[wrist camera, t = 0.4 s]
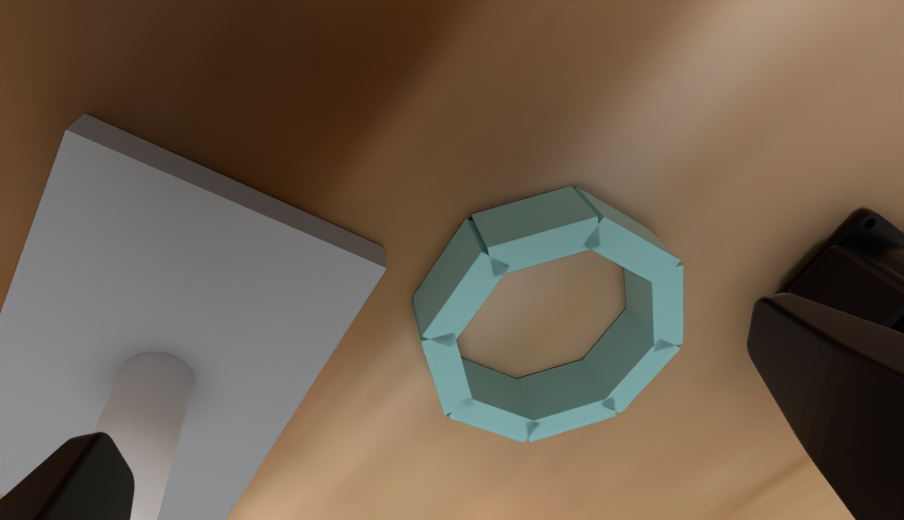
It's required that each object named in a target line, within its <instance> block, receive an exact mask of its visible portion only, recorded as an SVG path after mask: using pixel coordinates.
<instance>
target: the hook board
mask: <svg viewBox="0 0 904 520" xmlns="http://www.w3.org/2000/svg"><path fill="white" fill-rule="evenodd" d="M386 269H387V266H386V260H385V255H384V249H383V247H382V246H380V245H378V244H376V243H373V242H371V241H369V240H367V239H364V238H362V237H360V236H358V235H355V234H353V233H351V232H349V231H347V230H344V229H342V228H340V227H338V226H335V225H333V224H331V223H329V222H326V221H324V220H322V219H320V218H318V217H315V216H313V215H311V214H309V213H306V212H304V211H302V210H300V209H297V208H295V207H293V206H291V205H288V204H286V203H284V202H282V201H280V200H277V199H275V198H273V197H271V196H268V195H266V194H264V193H262V192H259V191H257V190H255V189H253V188H251V187H248V186H246V185H244V184H242V183H239V182H237V181H235V180H233V179H230V178H228V177H226V176H224V175H221V174H219V173H217V172H215V171H213V170H210V169H208V168H206V167H204V166H201V165H199V164H197V163H195V162H192V161H190V160H188V159H186V158H184V157H181V156H179V155H177V154H175V153H172V152H170V151H168V150H166V149H163V148H161V147H159V146H157V145H154V144H152V143H150V142H148V141H146V140H143V139H141V138H139V137H137V136H134V135H132V134H130V133H128V132H125V131H123V130H121V129H119V128H117V127H114V126H112V125H110V124H108V123H105V122H103V121H101V120H99V119H96V118H94V117H92V116H90V115H87V114H85V113H84V114H83V115H82V116H81V117H80V118H79V119H77V120H76V121H75V122H74V123H73V124H72V125H71V126H69V127H68V128H67V129H66V131H65V133H64V136H63V139H62V142H61V145H60V147H59V150H58V153H57V156H56V159H55V162H54V164H53V167H52V170H51V173H50V176H49V178H48V181H47V184H46V187H45V190H44V192H43V195H42V198H41V201H40V204H39V206H38V209H37V212H36V215H35V218H34V221H33V223H32V226H31V229H30V232H29V235H28V237H27V240H26V243H25V246H24V249H23V251H22V254H21V257H20V260H19V263H18V266H17V268H16V271H15V274H14V277H13V280H12V282H11V285H10V288H9V291H8V294H7V296H6V299H5V302H4V305H3V308H2V310H1V313H0V495H6V494H7V493H8V492H9V491H10V490H11V489H13V488H14V487H15V486H16V485H17V484H18V483H19V482H21V481H22V480H23V479H24V478H25V477H26V476H27V475H28V474H30V473H31V472H32V471H33V470H34V469H35V468H36V467H38V466H39V465H40V464H41V463H42V462H43V461H44V460H45V459H47V458H48V457H49V456H50V455H51V454H52V453H53V452H54V451H56V450H57V449H58V448H59V447H60V446H61V445H62V444H64V443H65V442H66V441H67V440H69V439H70V438H73V437H76V436H80V435H85V434H90V433H95V432H105V433H107V434H108V435H110V437H111V438H112V439H113V441H114V443H115V444H116V446H117V447H118V449H119V451H120V452H121V454H122V456H123V457H124V459H125V460H126V462H127V464H128V465H129V467H130V469H131V471H132V473H133V476H134V481H135V490H134V498H133V505H132V512H131V519H130V520H226V518H227V517H228V515H229V514H230V512H231V511H232V509H233V507H234V506H235V504H236V503H237V501H238V500H239V498H240V497H241V495H242V493H243V492H244V490H245V489H246V487H247V486H248V484H249V482H250V481H251V479H252V478H253V476H254V475H255V473H256V472H257V470H258V468H259V467H260V465H261V464H262V462H263V461H264V459H265V458H266V456H267V454H268V453H269V451H270V450H271V448H272V447H273V445H274V443H275V442H276V440H277V439H278V437H279V436H280V434H281V433H282V431H283V429H284V428H285V426H286V425H287V423H288V422H289V420H290V419H291V417H292V415H293V414H294V412H295V411H296V409H297V408H298V406H299V405H300V403H301V401H302V400H303V398H304V397H305V395H306V394H307V392H308V390H309V389H310V387H311V386H312V384H313V383H314V381H315V380H316V378H317V376H318V375H319V373H320V372H321V370H322V369H323V367H324V366H325V364H326V362H327V361H328V359H329V358H330V356H331V355H332V353H333V352H334V350H335V348H336V347H337V345H338V344H339V342H340V341H341V339H342V337H343V336H344V334H345V333H346V331H347V330H348V328H349V327H350V325H351V323H352V322H353V320H354V319H355V317H356V316H357V314H358V313H359V311H360V309H361V308H362V306H363V305H364V303H365V302H366V300H367V299H368V297H369V295H370V294H371V292H372V291H373V289H374V288H375V286H376V284H377V283H378V281H379V280H380V278H381V277H382V275H383V274H384V272H385V270H386Z"/></svg>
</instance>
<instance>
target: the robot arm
mask: <svg viewBox="0 0 904 520" xmlns="http://www.w3.org/2000/svg"><path fill="white" fill-rule="evenodd" d="M747 348H748V353H749V356H750V358H751V360H752V362H753V364H754V365H755V367H756V369H757V370H758V372H759V374H760V375H761V377H762V379H763V381H764V382H765V384H766V386H767V387H768V389H769V391H770V392H771V394H772V396H773V398H774V399H775V401H776V403H777V404H778V406H779V408H780V409H781V411H782V413H783V415H784V416H785V418H786V420H787V421H788V423H789V425H790V426H791V428H792V430H793V432H794V433H795V435H796V437H797V438H798V440H799V441H800V443H801V444H802V446H803V448H804V449H805V451H806V452H807V454H808V455H809V456H810V458H811V459H812V461H813V462H814V464H815V465H816V466H817V468H818V469H819V470H820V472H821V473H822V475H823V476H824V477H825V479H826V480H827V481H828V483H829V484H830V485H831V487H832V488H833V489H834V491H835V492H836V494H837V495H838V496H839V498H840V499H841V500H842V502H843V503H844V504H845V506H846V507H847V509H848V510H849V511H850V513H851V514H852V515H853V517H854V518H855V519H856V520H904V233H902V232H901V231H900V230H898V229H897V228H896V227H895V226H893V225H892V224H891V223H890V222H888V221H887V220H886V219H884V218H883V217H882V216H881V215H879V214H878V213H876V212H874V211H872V210H870V209H864V210H862V211H860V212H859V213H858V214H856V215H855V216H854V217H853V218H852V219H851V220H850V221H849V223H848V224H847V225H846V226H845V227H844V228H843V229H842V230H841V231H840V232H839V233H838V234H837V235H836V236H835V237H834V238H833V239H832V240H831V241H830V242H829V243H828V244H827V245H826V246H825V247H824V248H823V250H822V251H821V252H820V253H819V254H818V255H817V256H816V257H815V258H814V259H813V260H812V261H811V262H810V263H809V264H808V265H807V266H806V267H805V268H804V269H803V270H802V271H801V272H800V273H799V274H798V275H797V276H796V278H795V279H794V280H793V281H792V282H791V283H790V284H789V285H788V286H787V287H786V288H785V289H784V290H783V291H782V292H781V293H779V294H774V295H769V296H764V297H761V298H759V299H757V301H756V302H755V304H754V307H753V312H752V317H751V323H750V329H749V334H748V340H747ZM134 490H135V481H134V476H133V473H132V471H131V469H130V467H129V465H128V464H127V462H126V460H125V459H124V457H123V456H122V454H121V452H120V451H119V449H118V447H117V446H116V444H115V443H114V441H113V439H112V438H111V437H110V435H108V434H107V433H105V432H95V433H90V434H85V435H80V436H76V437H73V438H70V439H69V440H67V441H66V442H65V443H64V444H62V445H61V446H60V447H59V448H58V449H57V450H56V451H54V452H53V453H52V454H51V455H50V456H49V457H48V458H47V459H45V460H44V461H43V462H42V463H41V464H40V465H39V466H38V467H36V468H35V469H34V470H33V471H32V472H31V473H30V474H28V475H27V476H26V477H25V478H24V479H23V480H22V481H21V482H19V483H18V484H17V485H16V486H15V487H14V488H13V489H11V490H10V491H9V492H8V493H7V494H6V495H5V496H4V497H2V498H1V499H0V520H130V519H131V512H132V505H133V498H134Z"/></svg>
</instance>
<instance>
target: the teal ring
mask: <svg viewBox="0 0 904 520" xmlns="http://www.w3.org/2000/svg"><path fill="white" fill-rule="evenodd" d="M471 215H472V219H473V221H471V220H469V219H467V218H466V219H465V220H464V222H463V223H462V225H461V226H460V228H459V229H458V231H457V232H456V234H455V235H454V236H453V238H452V239H451V241H450V242H449V244H448V245H447V247H446V248H445V250H444V251H443V253H442V254H441V256H440V257H439V259H438V260H437V262H436V263H435V265H434V266H433V268H432V269H431V270H430V272H429V273H428V275H427V276H426V278H425V279H424V281H423V282H422V284H421V285H420V287H419V288H418V290H417V291H416V293H415V294H414V296H413V299H414V301H412V304H413V308H414V313H415V317H416V321H417V326H418V330H419V335H420V339H421V343H422V346H423V349H424V352H425V356H426V359H427V362H428V365H429V368H430V371H431V374H432V377H433V381H434V384H435V387H436V390H437V393H438V396H439V399H440V402H441V406H442V409H443V412H444V415H445V414H447V416H448V418H450V419H453V420H456V421H459V422H462V423H465V424H468V425H471V426H474V427H478V428H481V429H484V430H487V431H490V432H493V433H496V434H499V435H502V436H505V437H508V438H511V439H514V440H517V441H520V442H523V443H524V442H525V441H526V440H527V438H528V441H529V443H530V442H533V441H536V440H539V439H543V438H546V437H549V436H553V435H556V434H559V433H562V432H566V431H569V430H572V429H576V428H579V427H582V426H586V425H589V424H592V423H595V422H599V421H602V420H605V419H609V418H612V417H615V416H616V415H615V411H616V412H618V413H621V412H622V411H623V410H624V409H625V408H626V407H627V406H628V405H629V404H630V403H631V402H632V400H633V399H634V398H635V397H636V396H637V395H638V394H639V393H640V392H641V391H642V390H643V389H644V387H645V386H646V385H647V384H648V383H649V382H650V381H651V380H652V379H653V378H654V377H655V376H656V374H657V373H658V372H659V371H660V370H661V369H662V368H663V367H664V366H665V365H666V364H667V363H668V362H669V360H670V359H671V358H672V357H673V356H674V355H675V354H676V353H677V352H678V351H679V350H680V349H681V347H680V346H679V344H682V343H683V264H682V263H681V262H680V261H681V260H680V259H679V258H678V257H677V256H676V255H675V254H674V253H673V252H672V251H671V250H670V249H669V248H668V247H667V246H666V245H665V244H664V243H663V242H662V241H661V240H660V239H659V238H658V237H657V236H656V235H655V234H654V233H652V232H651V231H650V230H649V229H648V228H647V227H645V226H643V225H642V224H640V223H638V222H637V221H635V220H633V219H631V218H630V217H628V216H626V215H625V214H623V213H621V212H620V211H618V210H616V209H614V208H613V207H611V206H609V205H608V204H606V203H604V202H603V201H601V200H599V199H597V198H596V197H594V196H592V195H591V194H589V193H587V192H585V191H584V190H582V189H580V188H579V187H576V188H575V190H574V189H573V188H572V187H571V186H569V187H565V188H562V189H558V190H555V191H551V192H548V193H544V194H541V195H537V196H534V197H530V198H526V199H523V200H519V201H516V202H512V203H509V204H505V205H502V206H498V207H495V208H491V209H488V210H484V211H481V212H477V213H474V214H471ZM586 250H592V251H594V252H596V253H598V254H600V255H602V256H604V257H605V258H607V259H609V260H611V261H613V262H615V263H617V264H619V265H620V266H622V267H624V279H625V294H626V309H625V310H624V311H623V313H622V314H621V315H620V316H619V317H618V318H617V320H616V321H615V322H614V323H613V324H612V326H611V327H610V328H609V329H608V330H607V331H606V333H605V334H604V335H603V336H602V337H601V338H600V340H599V341H598V342H597V343H596V344H595V345H594V347H593V348H592V349H591V350H590V351H589V353H588V354H587V355H586V356H585V357H584V358H583V359H582V360H579V361H576V362H572V363H569V364H566V365H562V366H559V367H556V368H552V369H549V370H545V371H542V372H539V373H535V374H532V375H529V376H525V377H522V378H519V379H515V378H513V377H510V376H507V375H505V374H502V373H500V372H497V371H494V370H492V369H489V368H486V367H484V366H481V365H479V364H476V363H473V362H471V361H468V360H466V359H463V358H461V356H460V353H459V349H458V346H457V342H456V339H457V338H458V336H459V335H460V334H461V332H462V331H463V330H464V328H465V327H466V326H467V324H468V323H469V321H470V320H471V319H472V317H473V316H474V315H475V313H476V312H477V311H478V309H479V308H480V307H481V305H482V304H483V302H484V301H485V300H486V298H487V297H488V296H489V294H490V293H491V292H492V290H493V289H494V287H495V286H496V285H497V283H498V282H499V281H500V279H501V278H502V277H503V275H504V274H507V273H510V272H514V271H517V270H521V269H524V268H527V267H531V266H534V265H538V264H541V263H545V262H548V261H552V260H555V259H559V258H562V257H566V256H569V255H572V254H576V253H579V252H583V251H586Z"/></svg>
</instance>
